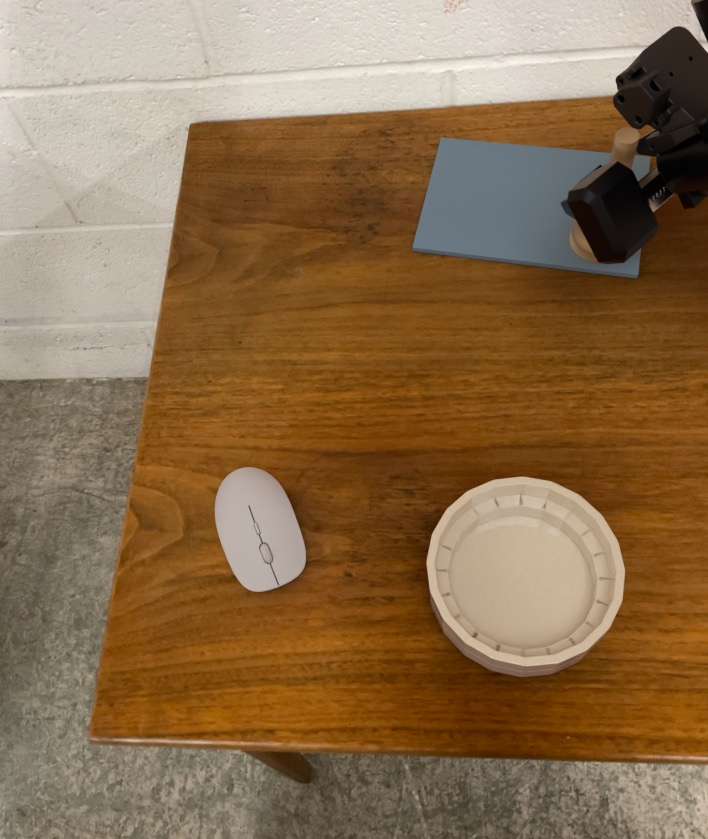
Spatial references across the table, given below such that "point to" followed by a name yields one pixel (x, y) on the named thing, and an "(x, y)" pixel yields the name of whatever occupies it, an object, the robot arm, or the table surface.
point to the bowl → (524, 576)
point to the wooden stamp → (620, 152)
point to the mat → (510, 204)
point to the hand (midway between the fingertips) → (600, 177)
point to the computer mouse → (258, 530)
